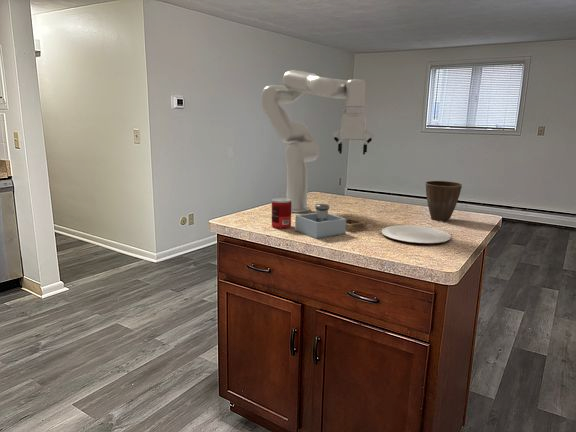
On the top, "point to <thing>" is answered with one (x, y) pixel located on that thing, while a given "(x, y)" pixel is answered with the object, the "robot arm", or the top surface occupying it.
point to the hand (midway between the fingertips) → (352, 153)
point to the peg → (321, 212)
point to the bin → (320, 226)
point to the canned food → (281, 213)
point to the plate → (416, 234)
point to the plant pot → (442, 198)
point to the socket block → (354, 225)
